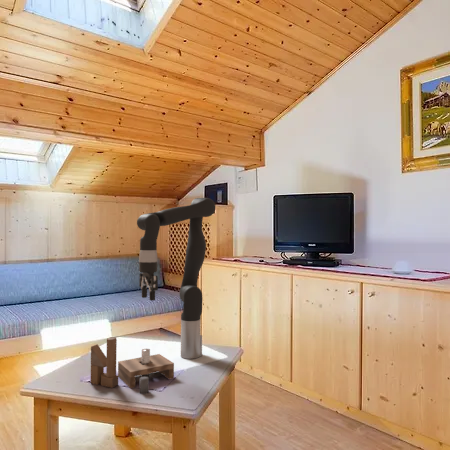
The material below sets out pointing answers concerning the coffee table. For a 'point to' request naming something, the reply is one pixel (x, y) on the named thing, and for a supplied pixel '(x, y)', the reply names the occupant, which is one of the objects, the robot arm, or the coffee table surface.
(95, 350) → the brown angled frame
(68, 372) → the coffee table surface
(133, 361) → the brown block with hole
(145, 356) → the long pin
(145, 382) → the short pin
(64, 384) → the coffee table surface
